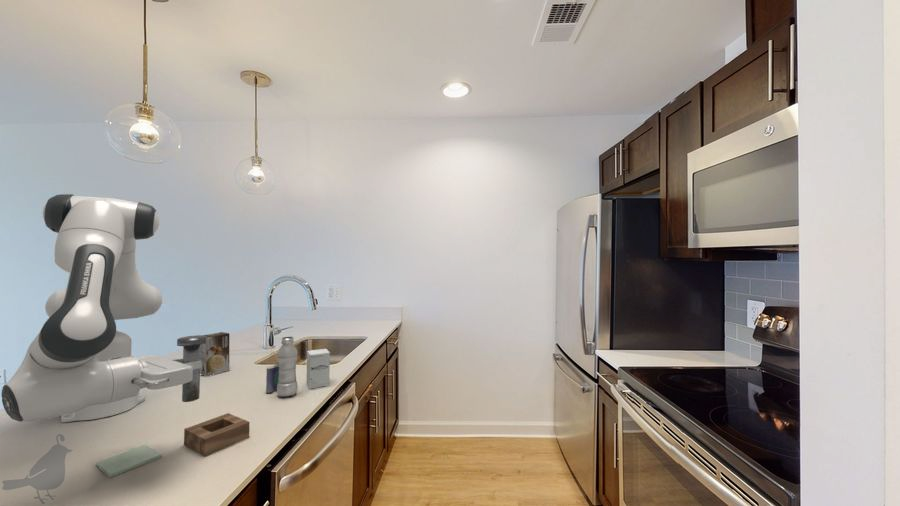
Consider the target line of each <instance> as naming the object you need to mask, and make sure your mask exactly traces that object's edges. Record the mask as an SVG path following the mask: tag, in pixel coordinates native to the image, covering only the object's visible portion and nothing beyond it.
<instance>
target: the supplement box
mask: <svg viewBox="0 0 900 506" xmlns="http://www.w3.org/2000/svg"><path fill="white" fill-rule="evenodd" d="M330 357H331V352H330V351H329V350H328V349H327V348H319V349H312V350H306V385H308V386H307V388H308V389H309V390H312V389H317V388H322V386H324V387H330V365H331V364H330V362H331V361H330V359H331V358H330Z"/></svg>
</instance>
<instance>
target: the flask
mask: <svg viewBox="0 0 900 506" xmlns="http://www.w3.org/2000/svg"><path fill="white" fill-rule="evenodd" d="M275 362H276V363H275V364H273V365H272V366H268V367H266V379H265V381H266V386H265V387H266V389H265V392H266V393H265V394H273V393H277V384H278V377H279V366H278V359H276V360H275Z"/></svg>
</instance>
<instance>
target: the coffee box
mask: <svg viewBox="0 0 900 506" xmlns="http://www.w3.org/2000/svg"><path fill="white" fill-rule="evenodd" d="M203 335H204V336H207V342H206V343H204V344H201V350H200V361H202V367H201V368H200V374H201V375H200V376H202V375H204V376H203V377H205V376H208V377H210V375H211V376H214V375H213V374H215V375H218V373H219V374H222V373H226V372H229V371H230V333H229V332H223V331H221V332H215V333H209V334H203ZM225 371H226V372H225ZM221 372H222V373H221Z"/></svg>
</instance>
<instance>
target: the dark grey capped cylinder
mask: <svg viewBox="0 0 900 506" xmlns="http://www.w3.org/2000/svg"><path fill="white" fill-rule="evenodd" d="M204 335H205V334H202V335H200V334H198V335H197V334H196V335H189V336H182V337H179V338H177V340H176V346H177V347H183V348H182V349H183V350H182V352H183V353H182V358H183V364H184V363H186V364H187V363H190V362H191V361H196V360H199V361H200V350H201V344H204V343H206V342H207V336H204ZM181 385H182V386H181V387H182V388H181V389H182V390H181V392H182V393H181V397H182V398H181V402H183V403H188V402H189V403H190V402H194V401H197V400H199V399H200V393H201V392H200V390H201V389H200V388H201V387H200V385H201V375H200V368H198V369H194V370H193V378H192V380H191V381H190V382H188V383H185V384H181Z"/></svg>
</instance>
